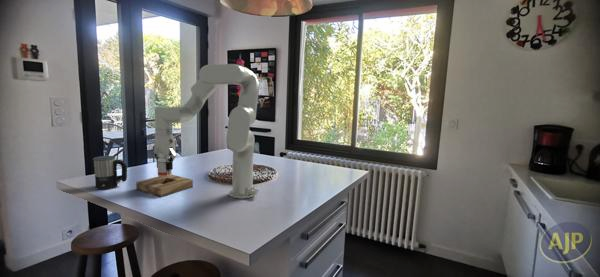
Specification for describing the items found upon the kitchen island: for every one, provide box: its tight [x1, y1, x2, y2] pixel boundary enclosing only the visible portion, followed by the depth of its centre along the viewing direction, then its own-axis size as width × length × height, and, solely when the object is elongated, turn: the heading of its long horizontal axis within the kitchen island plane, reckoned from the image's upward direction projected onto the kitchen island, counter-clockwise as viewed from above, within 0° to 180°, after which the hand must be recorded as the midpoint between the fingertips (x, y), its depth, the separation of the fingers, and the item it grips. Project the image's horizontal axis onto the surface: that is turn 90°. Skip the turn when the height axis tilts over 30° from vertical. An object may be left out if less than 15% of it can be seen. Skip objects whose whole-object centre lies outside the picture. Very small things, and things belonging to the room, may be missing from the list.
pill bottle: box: [156, 153, 173, 177], centre depth 142 cm, size 6×6×11 cm
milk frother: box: [92, 155, 128, 190], centre depth 146 cm, size 14×16×15 cm
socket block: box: [135, 174, 194, 198], centre depth 144 cm, size 18×18×4 cm
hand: (164, 168), depth 143 cm, fingers closed on pill bottle, 6 cm apart
